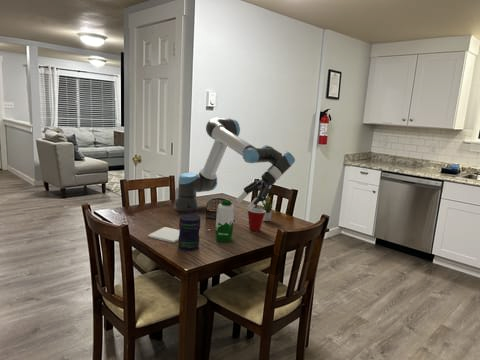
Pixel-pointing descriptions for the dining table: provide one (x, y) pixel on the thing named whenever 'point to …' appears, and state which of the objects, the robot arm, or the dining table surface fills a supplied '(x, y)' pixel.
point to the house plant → (266, 205)
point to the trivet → (166, 234)
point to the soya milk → (224, 221)
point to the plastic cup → (255, 218)
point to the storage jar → (189, 232)
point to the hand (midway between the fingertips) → (243, 205)
